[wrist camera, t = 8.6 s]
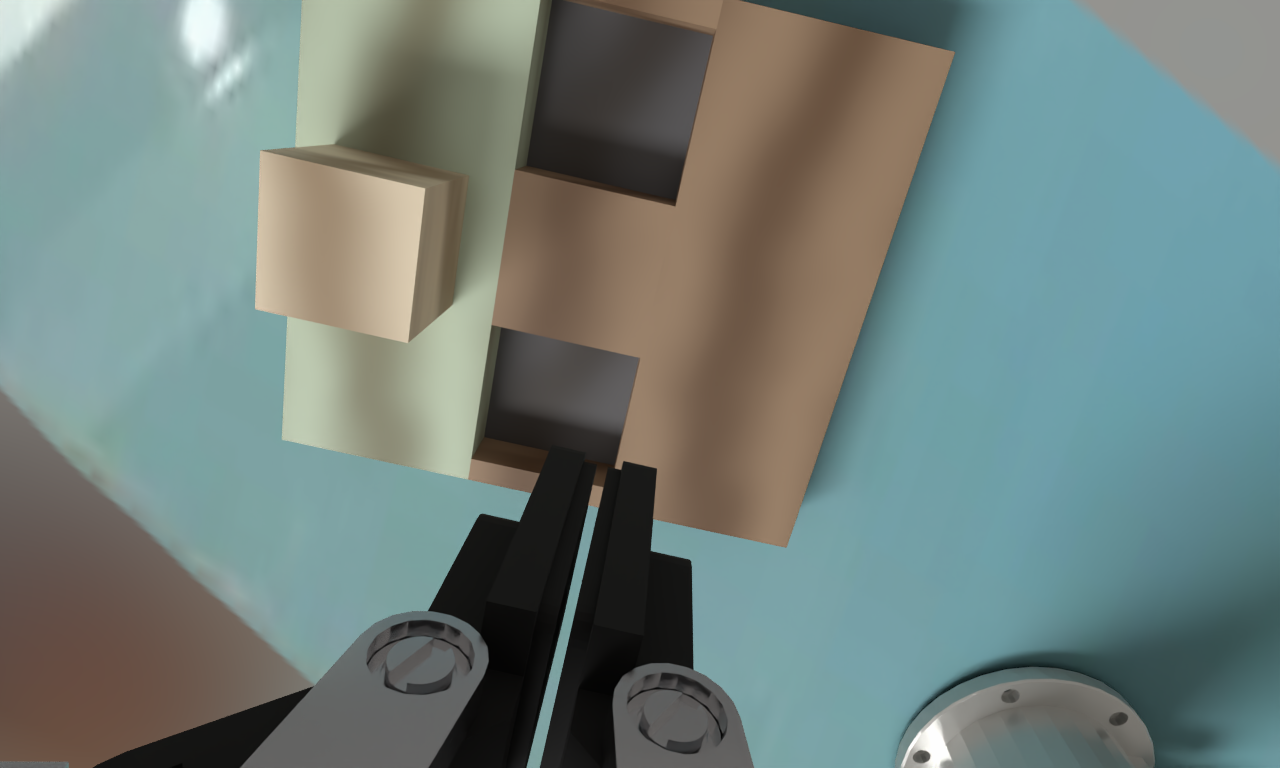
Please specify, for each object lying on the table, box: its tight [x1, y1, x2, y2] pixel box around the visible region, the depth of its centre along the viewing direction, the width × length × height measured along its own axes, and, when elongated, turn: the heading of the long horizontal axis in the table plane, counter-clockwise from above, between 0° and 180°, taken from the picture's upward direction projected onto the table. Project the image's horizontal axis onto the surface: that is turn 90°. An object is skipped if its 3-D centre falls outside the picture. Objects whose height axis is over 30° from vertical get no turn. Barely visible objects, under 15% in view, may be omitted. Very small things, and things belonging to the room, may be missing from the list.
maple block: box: [255, 144, 469, 343], centre depth 25 cm, size 5×5×5 cm
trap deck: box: [282, 0, 955, 547], centre depth 29 cm, size 22×20×2 cm
